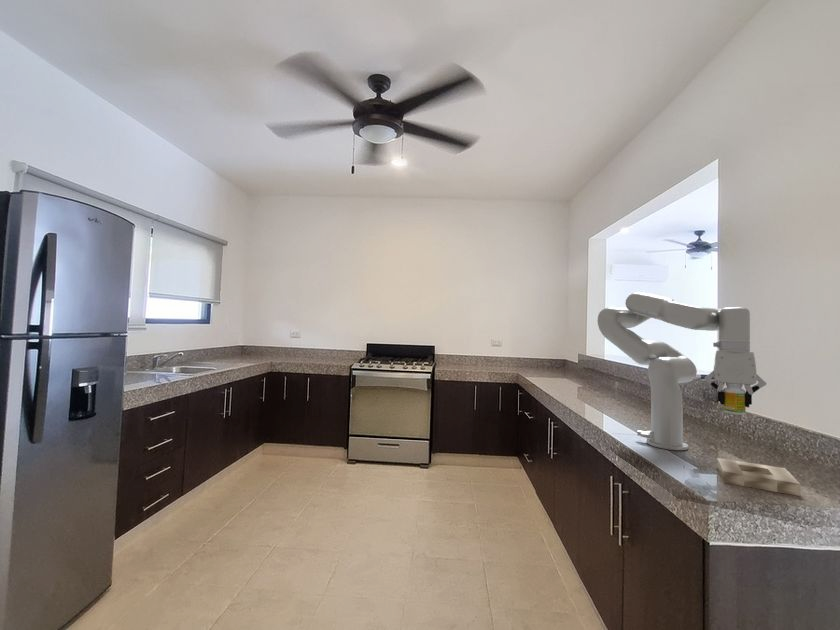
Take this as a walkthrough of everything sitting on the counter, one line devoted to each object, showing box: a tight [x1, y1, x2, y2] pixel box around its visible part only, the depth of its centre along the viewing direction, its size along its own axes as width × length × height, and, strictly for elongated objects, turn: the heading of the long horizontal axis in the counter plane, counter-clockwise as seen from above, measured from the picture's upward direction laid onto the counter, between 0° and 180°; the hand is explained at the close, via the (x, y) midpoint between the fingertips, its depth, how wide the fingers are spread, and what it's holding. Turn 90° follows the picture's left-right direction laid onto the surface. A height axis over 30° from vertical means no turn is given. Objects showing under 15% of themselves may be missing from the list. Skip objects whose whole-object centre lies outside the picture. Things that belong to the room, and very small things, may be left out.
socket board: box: [716, 457, 801, 497], centre depth 105 cm, size 15×14×3 cm
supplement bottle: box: [722, 383, 747, 416], centre depth 120 cm, size 5×5×10 cm
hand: (734, 404), depth 120 cm, fingers closed on supplement bottle, 5 cm apart
